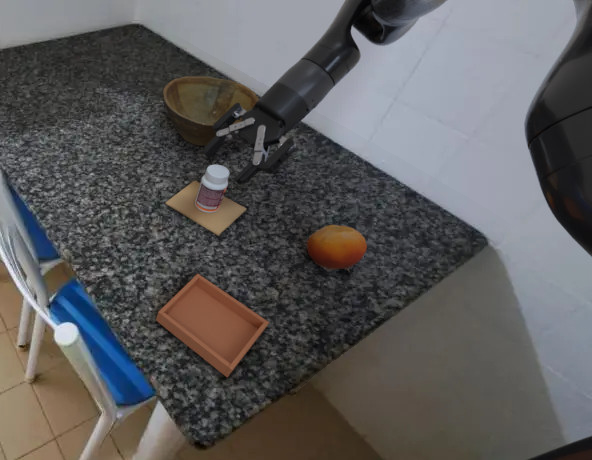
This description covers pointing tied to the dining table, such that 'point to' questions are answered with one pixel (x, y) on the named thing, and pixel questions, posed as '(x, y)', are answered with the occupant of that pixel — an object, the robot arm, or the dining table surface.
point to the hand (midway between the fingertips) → (220, 168)
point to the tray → (212, 323)
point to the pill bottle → (212, 188)
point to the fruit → (336, 247)
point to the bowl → (203, 104)
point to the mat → (210, 221)
